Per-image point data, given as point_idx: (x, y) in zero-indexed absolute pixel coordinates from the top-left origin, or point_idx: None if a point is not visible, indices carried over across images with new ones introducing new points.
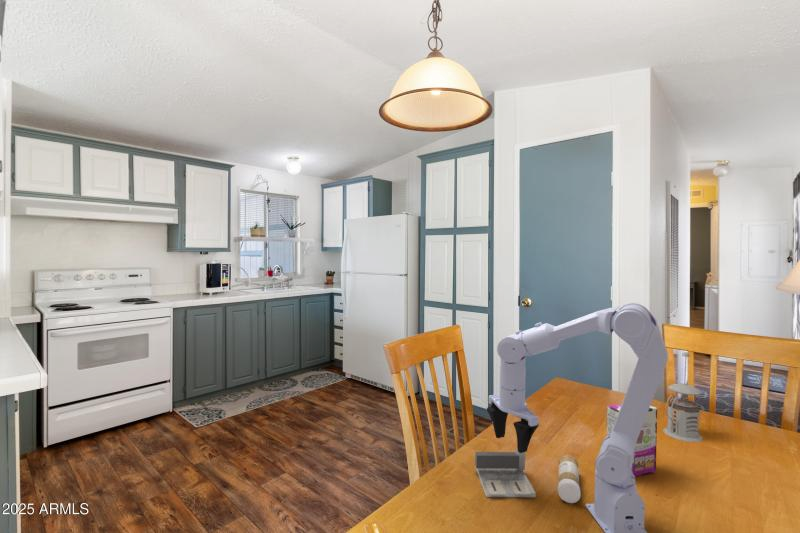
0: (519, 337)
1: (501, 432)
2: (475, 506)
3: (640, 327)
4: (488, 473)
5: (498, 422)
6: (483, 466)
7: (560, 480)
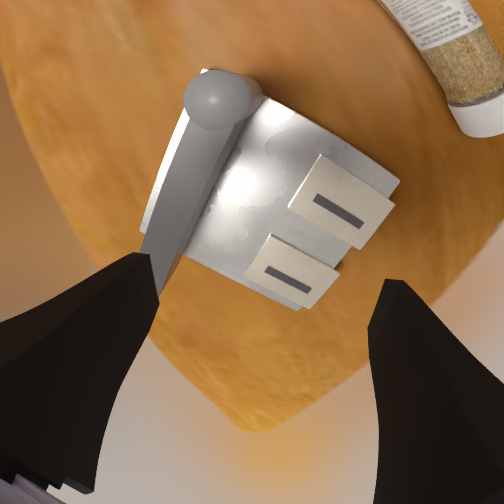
0: None
1: (137, 301)
2: (310, 341)
3: None
4: (208, 234)
5: (101, 383)
6: (183, 250)
7: (468, 99)
